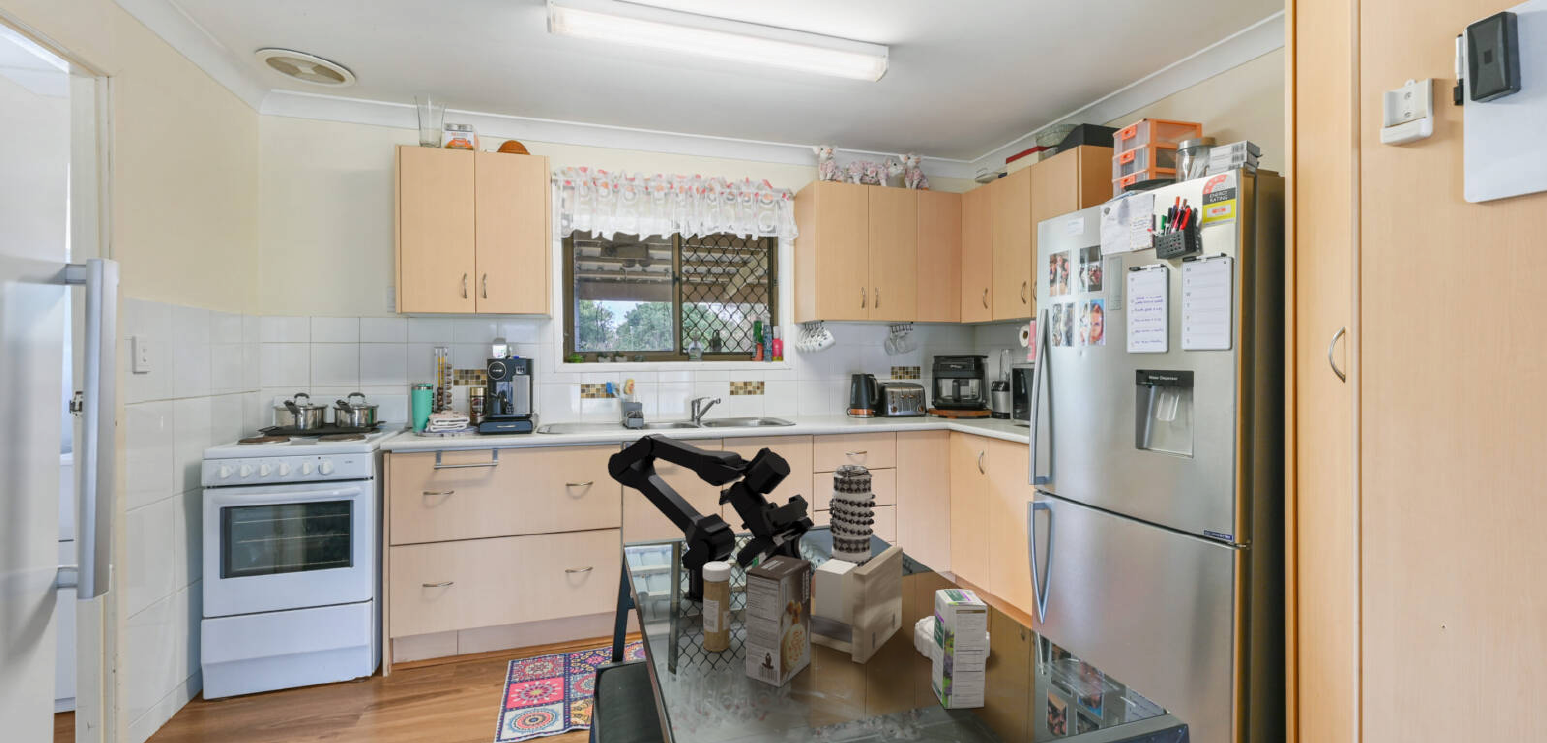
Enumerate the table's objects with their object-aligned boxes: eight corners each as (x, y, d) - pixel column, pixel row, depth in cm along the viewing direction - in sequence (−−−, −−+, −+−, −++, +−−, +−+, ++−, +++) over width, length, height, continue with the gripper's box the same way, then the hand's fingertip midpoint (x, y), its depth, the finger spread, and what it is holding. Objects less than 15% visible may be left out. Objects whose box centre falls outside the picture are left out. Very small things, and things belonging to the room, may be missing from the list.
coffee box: (776, 652, 104) (777, 553, 103) (811, 662, 101) (812, 560, 100) (744, 676, 96) (744, 570, 96) (780, 689, 93) (782, 579, 92)
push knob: (808, 624, 111) (809, 567, 111) (825, 612, 116) (825, 557, 116) (841, 633, 108) (842, 574, 107) (856, 620, 113) (857, 564, 112)
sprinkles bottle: (735, 648, 105) (736, 566, 104) (710, 655, 103) (711, 572, 102) (721, 637, 109) (722, 558, 108) (697, 644, 106) (697, 563, 106)
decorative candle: (883, 595, 128) (885, 469, 127) (843, 602, 124) (845, 473, 123) (857, 579, 136) (859, 461, 135) (819, 586, 132) (821, 464, 131)
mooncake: (1004, 664, 101) (1004, 641, 101) (931, 669, 99) (932, 646, 99) (968, 630, 113) (969, 610, 113) (903, 634, 111) (903, 614, 111)
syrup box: (930, 687, 94) (932, 589, 93) (970, 686, 94) (972, 588, 94) (944, 710, 88) (946, 605, 87) (986, 708, 88) (989, 604, 88)
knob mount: (796, 644, 107) (797, 560, 106) (839, 610, 120) (840, 536, 120) (863, 664, 100) (865, 575, 100) (901, 626, 114) (902, 547, 113)
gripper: (751, 492, 109) (808, 570, 103) (805, 474, 125) (857, 540, 119) (713, 531, 113) (766, 607, 108) (771, 508, 129) (819, 574, 124)
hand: (805, 580), depth 115 cm, fingers closed
